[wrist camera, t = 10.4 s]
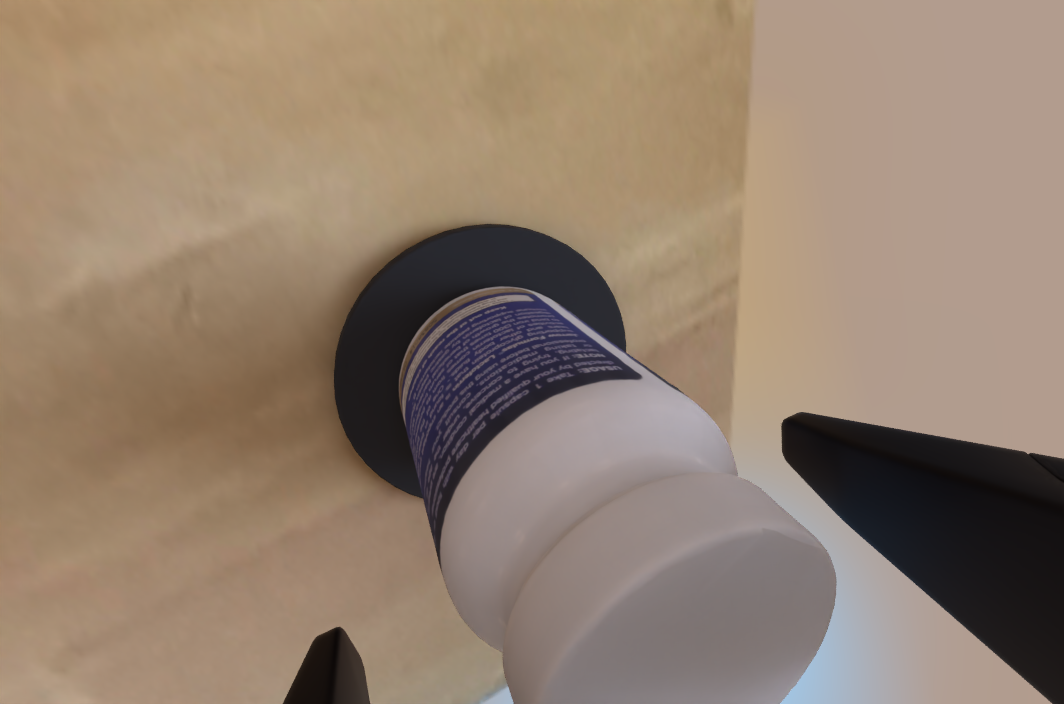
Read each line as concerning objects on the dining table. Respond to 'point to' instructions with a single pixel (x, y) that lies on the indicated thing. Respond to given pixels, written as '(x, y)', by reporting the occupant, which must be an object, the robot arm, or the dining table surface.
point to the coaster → (422, 289)
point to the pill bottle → (600, 517)
